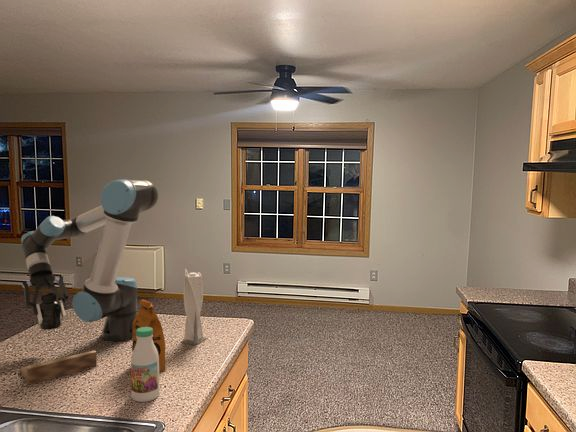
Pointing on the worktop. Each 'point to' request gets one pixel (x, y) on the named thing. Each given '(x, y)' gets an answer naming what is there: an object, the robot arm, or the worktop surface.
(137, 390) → the milk bottle
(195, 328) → the skyscraper
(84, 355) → the walnut shelf
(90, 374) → the worktop surface
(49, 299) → the supplement bottle
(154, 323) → the orange brown carved sculpture
